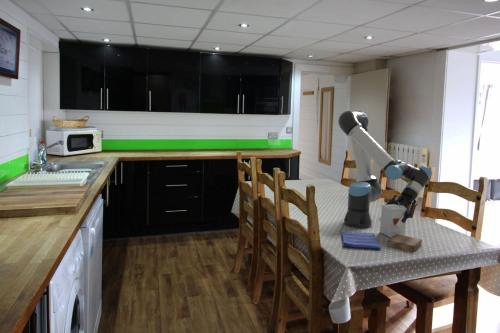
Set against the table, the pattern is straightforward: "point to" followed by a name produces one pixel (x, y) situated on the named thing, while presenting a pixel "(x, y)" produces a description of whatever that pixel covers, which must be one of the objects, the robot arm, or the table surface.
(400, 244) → the walnut stand
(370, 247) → the dish towel
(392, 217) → the supplement box
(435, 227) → the table surface
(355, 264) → the table surface
